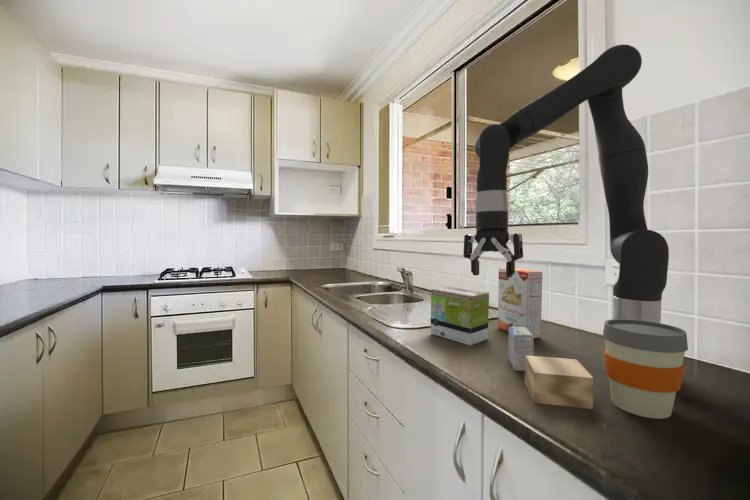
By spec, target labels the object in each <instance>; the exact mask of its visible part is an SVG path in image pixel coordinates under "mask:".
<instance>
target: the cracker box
mask: <svg viewBox="0 0 750 500" xmlns="http://www.w3.org/2000/svg"><path fill="white" fill-rule="evenodd" d="M542 293H543V272H542V271H539V270H532V269H524V268H518V267H515V274H514V275H513V276H512V277H506V266H505V267H498V295H497V296H498V297H497V299H498V300H497V301H498V302H497V309H498V310H497V329H500V330H502V331H504V332H507V333H508V332H509V327H526V328H527V329H528V330H529V331H530V333H531V334H532V335H533V338H534V340H535V339H541V337H542V306H543V305H542V300H543V299H542V298H543V294H542Z"/></svg>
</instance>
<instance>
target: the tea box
mask: <svg viewBox="0 0 750 500" xmlns="http://www.w3.org/2000/svg"><path fill="white" fill-rule="evenodd" d="M430 291H431V292H430V335H433V336H438V337H441V338H445V339H448V340H450V341H454V342H458V343H461V344H463V345H467V346H470V347H471V346H474V345H476V344H479V343H481V342H484V341H486V340H488V339H489V337H488V336H489V314H490V313H489V312H490V311H489V310H490V309H489V308H490V306H489V305H490V292H485V291H480V290H475V289H467V288H461V287H455V286H444V287H441V288H435V289H430Z"/></svg>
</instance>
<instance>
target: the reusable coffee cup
mask: <svg viewBox="0 0 750 500" xmlns="http://www.w3.org/2000/svg"><path fill="white" fill-rule="evenodd" d="M603 325H604V326H603V331H602V332H603V333H602V337H603V339H604V344H605V349H603V358H604V365H605V373H606V376H607V377H608V379H609V380H608V381H609V391H610V400H611V402H612V404H613V405H615V406H616V407H617V408H619V409H621V410H623V411H624V412H627V413H630V414H633V415H635V416H639V417H643V418H650V419H668V418H670V417H671V416H672V413H673V408H674V404H675V401H676V400H675V399H676V394H677V392H679V391H680V390H681V386H682V382H683V378H684V373H685V369H686V364H685V362H684V357H685V354H686V353H685V352H687V351H688V349H689V347H688V346H689V345H688V335H687V333H688V332H687V331H686V330H684V329H682V328H679V327H677V326H674V325H673V326H672V325H670V324H666V323H656V322H650V321H642V320H631V319H612V318H611V319H607V320H605V321H604V324H603Z"/></svg>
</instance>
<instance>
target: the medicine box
mask: <svg viewBox="0 0 750 500" xmlns="http://www.w3.org/2000/svg"><path fill="white" fill-rule="evenodd" d="M507 333H508V334H507V335H508V337H507V340H508V343H507V344H508V345H507V359H508V361H509V363H510V365H511V367H512V369H513V370H514V371H517V372H518V371H519V372H525V355H528V356H534V340H535V339H534V338H533V335H532V334H531V333H530V331H529V330H528V329H527V328H526V327H509V332H507Z"/></svg>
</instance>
